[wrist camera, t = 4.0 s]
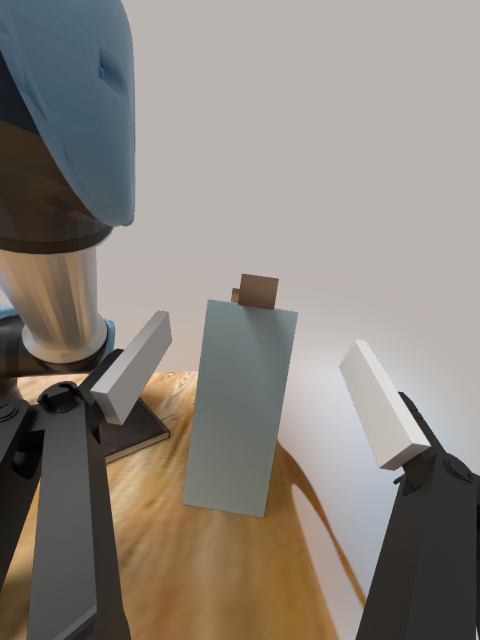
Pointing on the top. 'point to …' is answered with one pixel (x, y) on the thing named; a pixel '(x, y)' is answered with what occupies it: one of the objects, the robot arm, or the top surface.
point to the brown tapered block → (256, 292)
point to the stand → (238, 406)
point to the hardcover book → (132, 432)
